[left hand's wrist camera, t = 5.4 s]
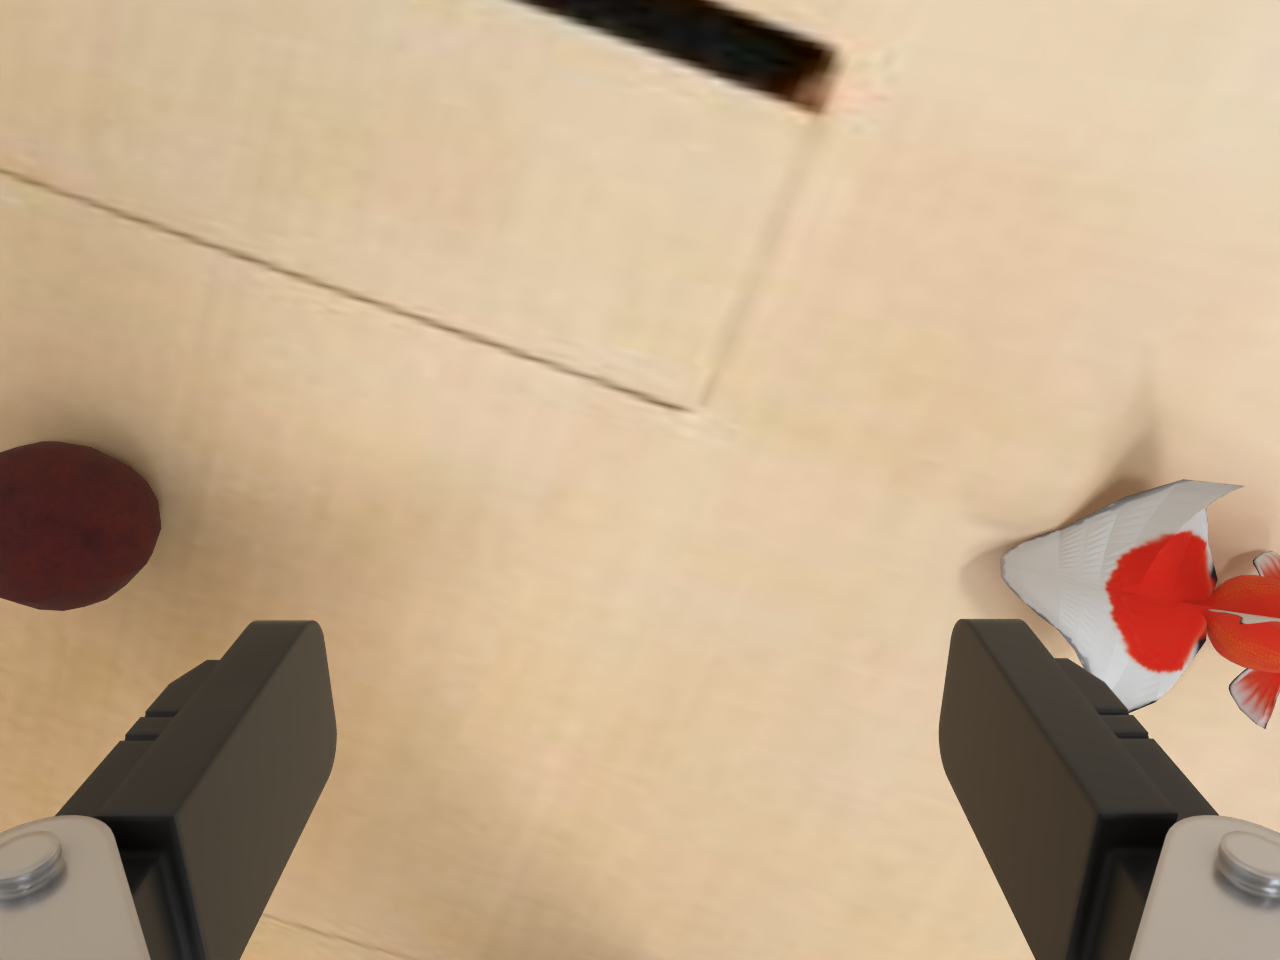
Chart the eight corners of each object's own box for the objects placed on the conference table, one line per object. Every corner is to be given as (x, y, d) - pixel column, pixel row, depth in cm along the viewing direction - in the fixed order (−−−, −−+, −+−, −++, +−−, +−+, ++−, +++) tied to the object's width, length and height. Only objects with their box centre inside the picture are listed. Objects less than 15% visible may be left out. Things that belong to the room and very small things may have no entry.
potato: (-5, 430, 41) (-129, 486, 34) (162, 411, 40) (69, 464, 34) (52, 575, 43) (-54, 653, 37) (208, 558, 43) (130, 634, 36)
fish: (1255, 803, 42) (1373, 856, 33) (948, 627, 47) (973, 628, 37) (1368, 605, 43) (1518, 601, 33) (1052, 448, 47) (1104, 403, 37)
